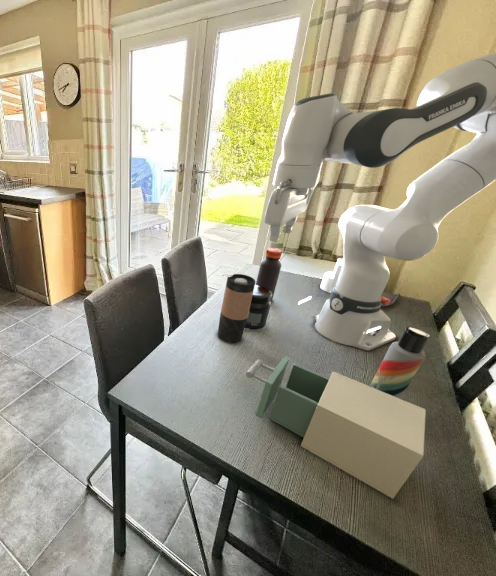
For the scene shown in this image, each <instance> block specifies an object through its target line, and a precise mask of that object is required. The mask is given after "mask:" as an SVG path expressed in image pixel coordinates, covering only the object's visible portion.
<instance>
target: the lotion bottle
mask: <svg viewBox="0 0 496 576" xmlns="http://www.w3.org/2000/svg"><path fill="white" fill-rule="evenodd" d="M429 339H430V334H428V333H427V332H425V331H423V330H421V329H420V328H417V327H414V326H407V327H405V329H404V331H403V332H402V334H401V336H400V338H399V340H398V341H394V342H392V343H391V344H390V345H389V347H388V349H387V351H386V353H385V355H384V358H383V359H382V361H381V362H380V365H379V367H378V369H377V371H376V373H375V375H374V377H373V379H372V381H371V383H370V385H369V386H370V387H372V388H375V389H377V390H379V391H382V392H384V393H387V394H389V395H392V396H394V397H396V398H399V399H401V400H402V398H403V397H404V394H405V393H406V391H407V389H408V388H409V386H410V384H411V383H412V381H413V379H414V377H415V376H416V374H417V372H418V370H419V369H420V367H421V365H422V363H423V362H424V360H425V358H426V352H425V351H424V350H423V349H424V348H425V346H426V344H427V343H428V341H429Z"/></svg>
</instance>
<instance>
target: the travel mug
mask: <svg viewBox="0 0 496 576" xmlns="http://www.w3.org/2000/svg"><path fill="white" fill-rule="evenodd" d="M225 283H226V284H225V289H224V294H223V297H222V298H223V299H222V304H221V308H220V314H219V322H218V328H217V337H218V339H219V340H220V341H222V342H224V343H227V344H233V345H234V344H235V345H236V344H239V343H240V342H242V339H243V336H244V332H245V329H246V328H245V325H246V321H247V318H248V313H249V309H250V304H251V300H252V295H253V291H254V286H255V285H256V280H255V278H254V277H251V276H250V275H247V274H242V273H233V274H232V275H231V276H227V279H226V282H225Z"/></svg>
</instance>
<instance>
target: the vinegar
mask: <svg viewBox="0 0 496 576" xmlns="http://www.w3.org/2000/svg"><path fill="white" fill-rule="evenodd" d="M282 253H283V250H281V249H279V248H276V247H269V248H267V249H266V251H265V258H264V259H263V260H261V261H260V264H259V269H258V273H257V276H256V277H257V278H256V280H255V285H258V286H262V287H265V288H267V289H268V290H270V291H271V292H272V297H271V300H270V301H271V303H272V302H273V299H274V295H275V291H276V287H277V284H278V280H279V276H280V272H281V269H282V263H281V262H280V259H281V257H282Z"/></svg>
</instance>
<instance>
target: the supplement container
mask: <svg viewBox="0 0 496 576" xmlns="http://www.w3.org/2000/svg"><path fill="white" fill-rule="evenodd" d="M271 297H272V292H271V291H270V290H268V289H267V288H265V287H262V286H258V285H256V284H255V286H254V291H253V295H252V300H251V304H250V309H249V313H248V318H247V321H246V325H245V329H246V330H253V331H254V330H257V331H258V330H261V329H263V328H265V327H266V325H267V321H268V317H269V314H270V310H271V307H272V302H271V301H270V300H271Z"/></svg>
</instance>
